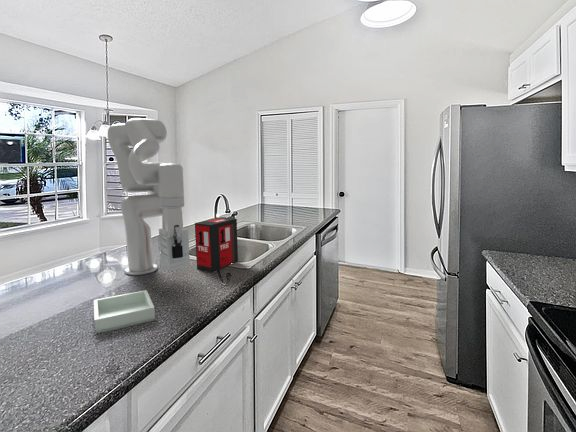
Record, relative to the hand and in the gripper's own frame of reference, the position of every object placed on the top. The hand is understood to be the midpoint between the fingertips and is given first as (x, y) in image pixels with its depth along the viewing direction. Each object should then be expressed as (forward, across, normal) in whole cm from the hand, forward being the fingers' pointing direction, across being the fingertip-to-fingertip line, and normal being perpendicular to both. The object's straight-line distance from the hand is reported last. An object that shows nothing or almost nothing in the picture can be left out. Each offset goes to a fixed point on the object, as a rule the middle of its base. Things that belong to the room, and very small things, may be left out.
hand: (174, 253), depth 111 cm
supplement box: (+4, 0, 0) cm, 4 cm away
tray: (+15, +7, -17) cm, 24 cm away
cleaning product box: (+16, -25, +23) cm, 38 cm away
